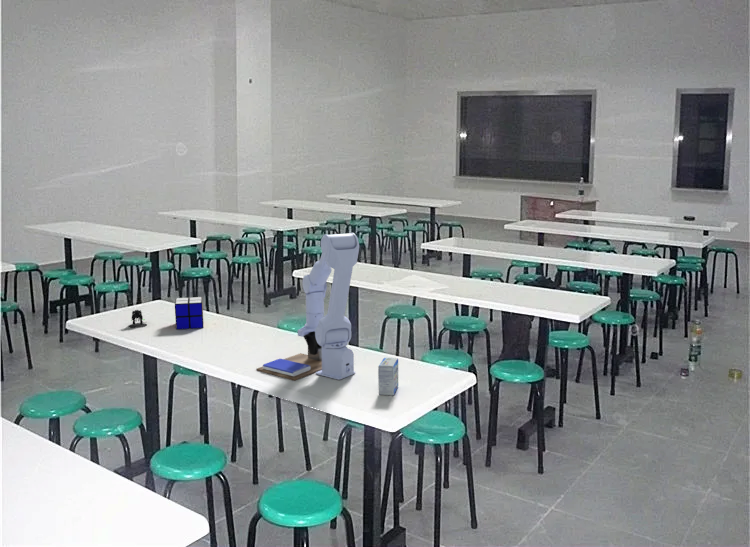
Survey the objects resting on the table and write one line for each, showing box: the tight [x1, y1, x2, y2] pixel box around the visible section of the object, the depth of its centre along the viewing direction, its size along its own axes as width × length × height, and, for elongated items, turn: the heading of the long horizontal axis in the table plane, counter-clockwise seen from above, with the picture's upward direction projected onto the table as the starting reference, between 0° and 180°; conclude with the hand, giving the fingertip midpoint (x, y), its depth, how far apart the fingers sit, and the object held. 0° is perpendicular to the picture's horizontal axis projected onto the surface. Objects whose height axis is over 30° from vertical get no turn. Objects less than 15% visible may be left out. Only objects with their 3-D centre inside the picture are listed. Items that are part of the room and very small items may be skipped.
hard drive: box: [262, 358, 311, 376], centre depth 219 cm, size 2×8×12 cm
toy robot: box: [127, 309, 148, 329], centre depth 271 cm, size 12×12×12 cm
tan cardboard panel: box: [256, 346, 322, 382], centre depth 223 cm, size 16×20×4 cm
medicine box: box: [377, 357, 399, 396], centre depth 202 cm, size 8×4×9 cm, turn 168°
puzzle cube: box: [174, 296, 204, 330], centre depth 271 cm, size 10×10×10 cm
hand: (315, 353), depth 229 cm, fingers closed on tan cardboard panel, 2 cm apart
